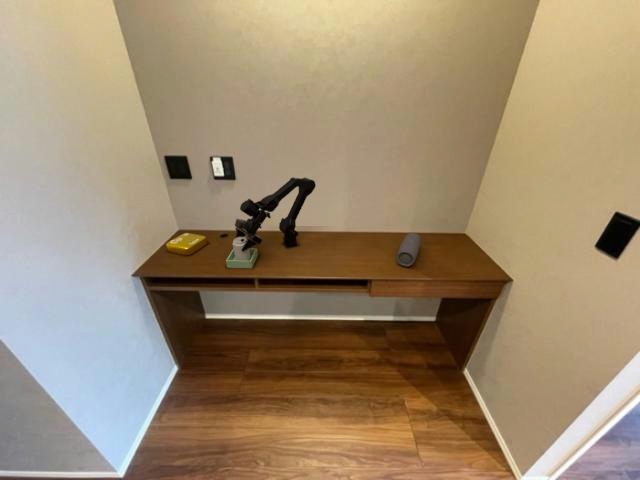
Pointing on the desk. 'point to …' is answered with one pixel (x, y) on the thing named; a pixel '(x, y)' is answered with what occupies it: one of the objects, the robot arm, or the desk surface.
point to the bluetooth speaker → (409, 249)
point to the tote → (241, 264)
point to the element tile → (186, 244)
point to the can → (238, 246)
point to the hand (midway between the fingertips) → (238, 247)
